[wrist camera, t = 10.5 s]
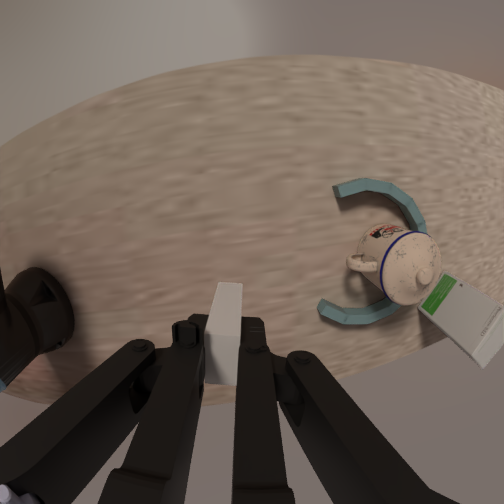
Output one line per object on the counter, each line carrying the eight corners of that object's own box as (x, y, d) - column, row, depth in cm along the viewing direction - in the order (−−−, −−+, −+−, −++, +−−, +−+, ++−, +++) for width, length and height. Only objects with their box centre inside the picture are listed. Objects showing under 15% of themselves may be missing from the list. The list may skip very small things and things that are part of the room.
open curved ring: (315, 316, 39) (318, 324, 37) (333, 174, 34) (338, 173, 32) (404, 316, 39) (411, 322, 37) (426, 191, 35) (435, 192, 33)
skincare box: (444, 268, 38) (507, 302, 22) (459, 289, 39) (517, 323, 23) (415, 309, 39) (470, 356, 24) (433, 326, 40) (484, 371, 25)
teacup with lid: (410, 222, 36) (459, 236, 25) (403, 281, 38) (446, 311, 27) (336, 220, 36) (373, 234, 24) (332, 284, 38) (362, 322, 26)
